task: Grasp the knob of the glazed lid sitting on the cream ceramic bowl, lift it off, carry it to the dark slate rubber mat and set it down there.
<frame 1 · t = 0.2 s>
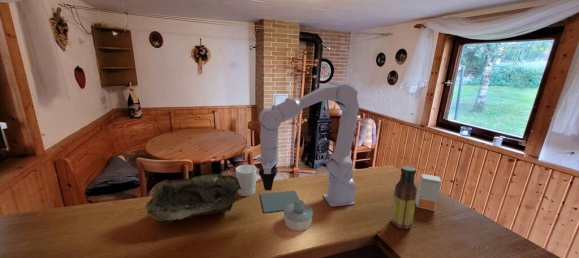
hand: (269, 184, 80), 10 cm above the table, fingers open, 7 cm apart
lid: (298, 212, 76), point 4 cm above the table, touching bowl
sauce bottle: (400, 224, 78), on the table
bowl: (297, 222, 77), on the table
white cup: (246, 192, 94), on the table
mat: (280, 201, 88), on the table
hollow geode rock: (198, 216, 78), on the table
skincare box: (424, 207, 88), on the table
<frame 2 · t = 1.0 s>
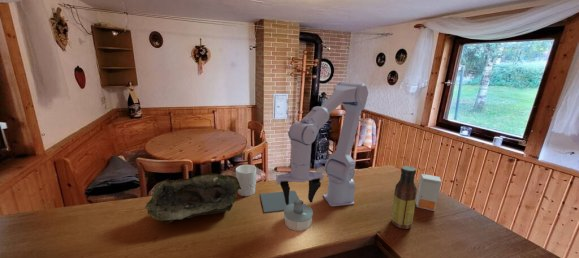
hand: (298, 201, 75), 8 cm above the table, fingers open, 7 cm apart
nothing on the table moved.
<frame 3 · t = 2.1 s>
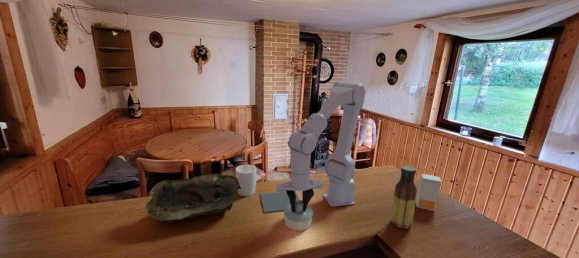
hand: (298, 210, 76), 5 cm above the table, fingers closed on lid, 3 cm apart
lid: (298, 212, 76), point 4 cm above the table, touching bowl, gripper
everything else where it was.
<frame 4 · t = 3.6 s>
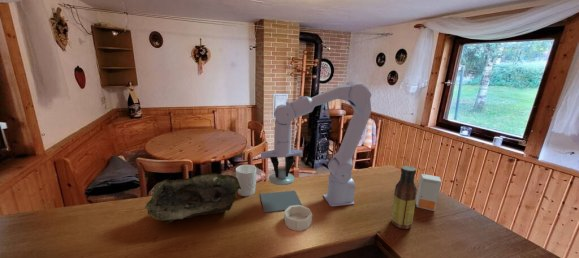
hand: (281, 175, 85), 10 cm above the table, fingers closed on lid, 3 cm apart
lid: (281, 179, 85), point 9 cm above the table, touching gripper
everything else where it was.
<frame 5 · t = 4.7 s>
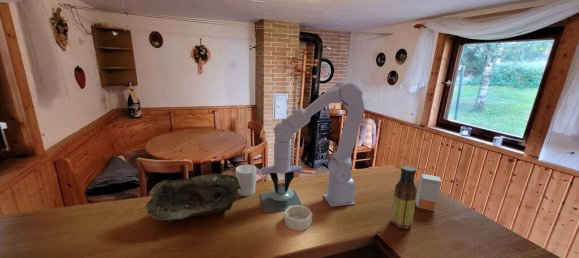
hand: (281, 190, 87), 4 cm above the table, fingers closed on lid, 3 cm apart
lid: (281, 194, 87), point 3 cm above the table, touching gripper
everything else where it was.
when the fingers open (3 cm above the table, at t = 5.3 s): lid drops 1 cm, resting on mat.
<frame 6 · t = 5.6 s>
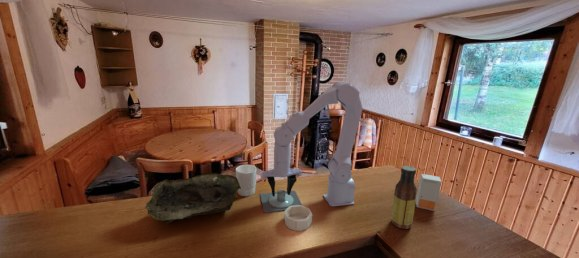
hand: (280, 194, 87), 3 cm above the table, fingers open, 5 cm apart
lid: (281, 201, 88), resting on mat
everything else where it was.
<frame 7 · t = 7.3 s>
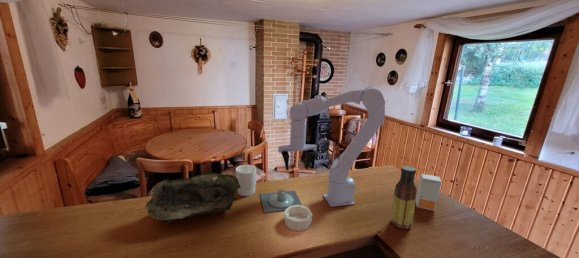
hand: (296, 168, 92), 10 cm above the table, fingers open, 7 cm apart
nothing on the table moved.
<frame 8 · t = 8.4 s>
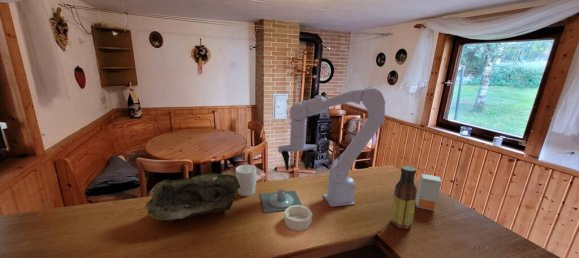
hand: (296, 168, 92), 10 cm above the table, fingers open, 7 cm apart
nothing on the table moved.
at the end: lid inside the target area on the mat (0.4 cm from its centre), point 0.4 cm above the mat's base; lid resting on mat; lid touching mat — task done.
